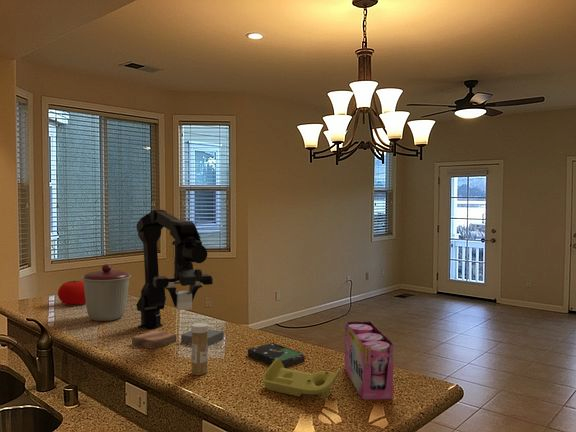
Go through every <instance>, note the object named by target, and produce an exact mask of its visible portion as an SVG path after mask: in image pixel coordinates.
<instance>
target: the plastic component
mask: <svg viewBox="0 0 576 432" xmlns="http://www.w3.org/2000/svg"><path fill="white" fill-rule="evenodd" d="M341 372H342V370H341V368H340V369H337V370H336V371H335V372H331V371H329V370H327V371H326V370H319V371H315V372H313V373H312V372H306V371H301V370H297V369H290V368H286V367H284V365H283V364H282V362H281V360H280V359H275V360H274V362H273V363H272V364H271V365H269V367H268V368H267V369H266V370H265V372H263V374H262V377H261V378H262V381H263V384H264V386H265V388H266V389H267V390H269V391H272V392H276V393H279V394H280V393H281V394H285V395H286V394H287V395H291V396H294V397H298V398H300V397H301V396H302V394H304V395H317V398H319V399H323V400H324V399H325V398H328V397H329V395H330V394H331V390H330V388H331V387H332V386H333V385H334V383H335V382H336V380H337V379H338V377H339V376H340V374H341Z"/></svg>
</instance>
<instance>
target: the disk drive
mask: <svg viewBox="0 0 576 432" xmlns="http://www.w3.org/2000/svg"><path fill="white" fill-rule="evenodd" d="M247 356H248V357H249V358H252V359H255V360H256V361H260V362H262V363H265V364H267V365H269V366H270V365H271V364H272V363H273V362H274V360H275V359H280V360H281V362H282V364H283V365H284V367H285V368H287V367H290V366H293V365H296V364H299V363H304V362H305V360H306V359H305V355H304V353H301V352H300V351H296V350H295V349H291V348H289V347H285V346H283V345H280V344H278V343H275V342H271V343H267V344H263V345H260V346H258V347H257V348H256V347H252V348H251V347H250V348H248V349H247Z"/></svg>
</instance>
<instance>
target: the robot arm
mask: <svg viewBox="0 0 576 432" xmlns="http://www.w3.org/2000/svg"><path fill="white" fill-rule="evenodd" d="M163 228H166V229H167V230H168V231H169V235H170V236H171V237H172V238H173V239H174V240H173V241H172V243H171V244H172V245H173V246H174V262H173V265H174V270H173V271H174V273H173V277H171V278H169V277H167V276H166V275H160V274H159V271H160V270H159V259H158V258H159V257H158V255H159V254H158V242H159V240H160V238H161V236H162V230H163ZM136 231H137V235H138V238H139V240H140V241H141V242H142V244H143V245H142V246H143V262H144V265H143V266H144V280H145V281H144V285H143V287H142V288H141V290H140V298H139V299H138V301H137V302H136V310H137V311H139V312H140V324H139V325H137V328H143V329H147V330H153V329H156V328H159V327H162V326H163V325H164V324H163V323H161V318H162V317H161V310H164V309H165V304H166V299H167V297H166V290H167V291H168V293H169V296H170V298H171V301H172V304H173V307H174V306H175V307H177V301H176V292H177V287H176V286H175V285H177V284H178V285H179V284H180V286H183V287H185V286H189V289H188V292H190V293H191V294H192V303H193V302H194V299H195V296H196V295H197V292H198V290H199V289H200V288H203V286H206V285H207V286H208V285H210V286H211V285H213V281H214V280H213V279H214V278H213V276H212V275H210V274H208V273H203V270H202V269H200V268H198V269H194V264H193V263H195V264H202V263H204V262H205V261H206V259H207V257H208V251H207V248H206V247H205V246H204V245H203V242H202V240H201V235H200V233H199V231H198V229H197V226H196V223H194V221H192V220H191V221H190V220H184V219H179V218H178V217H176V216H174V215H172V214H171V213H169V212H167V210H164V209H152V210H150V211H149V213H147V214H146V215H144V216H142V217H140V219H139V220H138V221H137V224H136ZM175 307H174V308H175Z"/></svg>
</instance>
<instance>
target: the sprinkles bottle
mask: <svg viewBox="0 0 576 432" xmlns="http://www.w3.org/2000/svg"><path fill="white" fill-rule="evenodd" d="M190 327H191V328H190V331H191V332H192V344H191V371H190V372H191V374H193V375H194V376H202V375H206V374H207V373H208V371H209V369H208V358H209V357H208V356H209V354H208V352H209V350H208V347H209V346H208V344H207V333H208V329H209V324H208V323H205V322H196V323H193V324H191V326H190Z"/></svg>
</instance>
